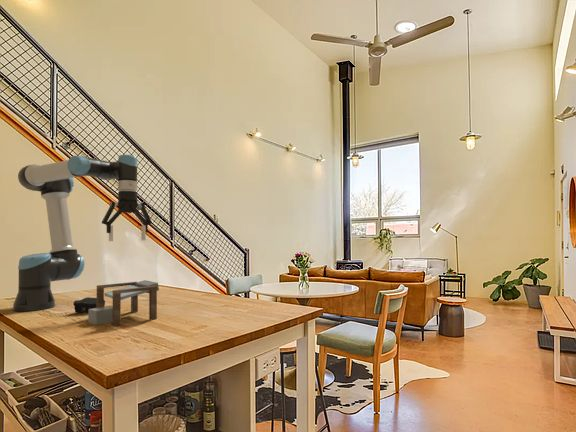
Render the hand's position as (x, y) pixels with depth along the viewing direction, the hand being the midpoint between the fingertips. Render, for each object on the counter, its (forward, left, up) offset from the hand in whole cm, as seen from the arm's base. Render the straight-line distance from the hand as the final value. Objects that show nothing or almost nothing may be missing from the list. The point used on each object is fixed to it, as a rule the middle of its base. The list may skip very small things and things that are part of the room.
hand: (127, 240), depth 160 cm
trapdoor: (+18, -4, -20) cm, 27 cm away
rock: (-4, -13, -29) cm, 32 cm away
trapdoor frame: (+18, -7, -29) cm, 35 cm away
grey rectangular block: (+17, -11, -26) cm, 33 cm away
